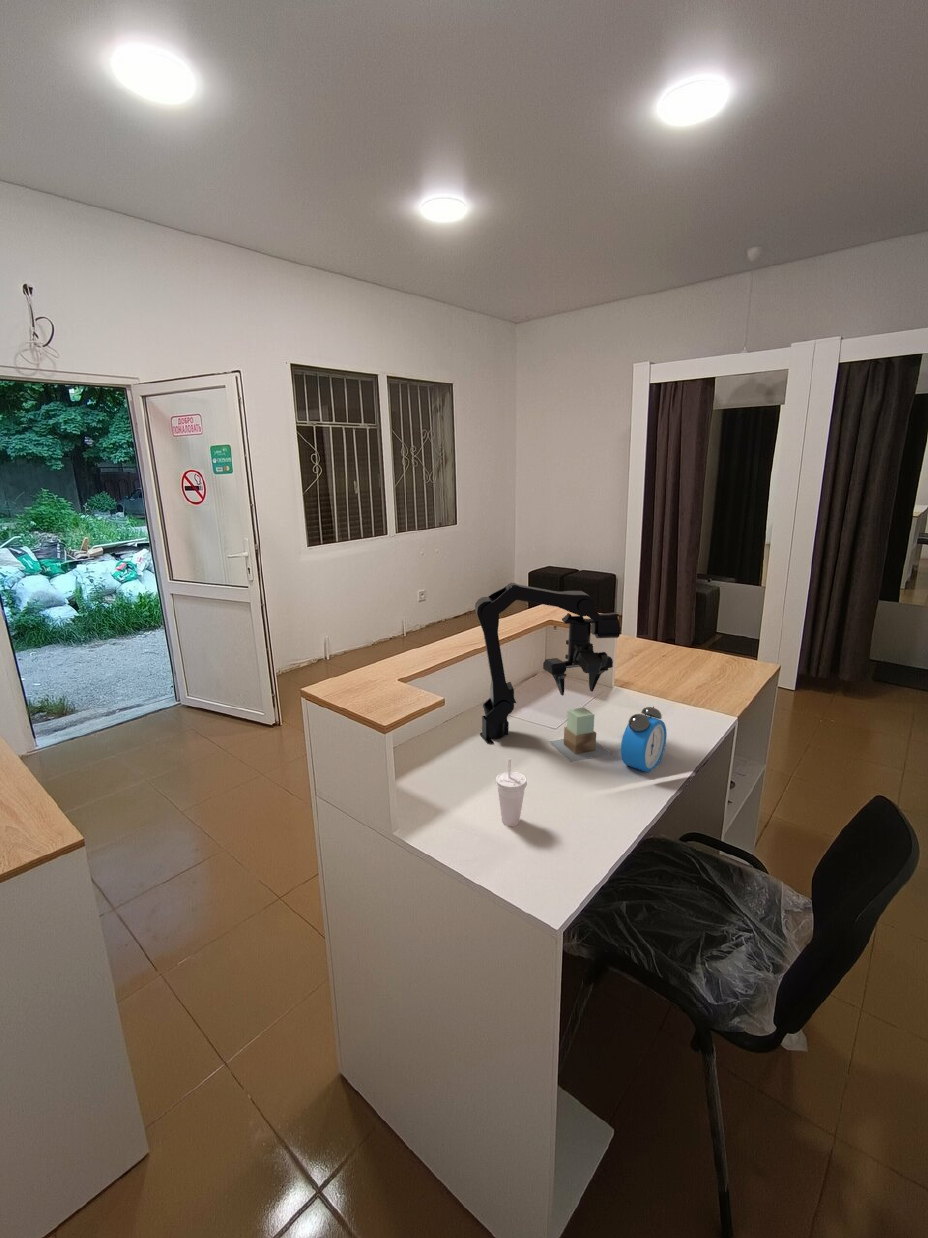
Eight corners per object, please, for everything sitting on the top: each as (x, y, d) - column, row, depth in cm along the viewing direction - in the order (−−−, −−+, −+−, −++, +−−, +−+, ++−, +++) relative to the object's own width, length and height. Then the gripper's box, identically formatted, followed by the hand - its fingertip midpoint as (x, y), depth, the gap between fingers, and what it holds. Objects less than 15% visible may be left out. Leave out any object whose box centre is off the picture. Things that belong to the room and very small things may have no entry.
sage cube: (576, 735, 144) (577, 717, 143) (566, 727, 149) (567, 710, 148) (593, 732, 146) (594, 714, 145) (583, 725, 150) (584, 707, 149)
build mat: (570, 765, 141) (570, 761, 141) (548, 744, 152) (548, 741, 152) (611, 757, 145) (611, 754, 145) (586, 738, 156) (587, 735, 156)
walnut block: (575, 754, 145) (576, 736, 144) (563, 744, 150) (564, 727, 149) (595, 750, 147) (596, 733, 145) (583, 741, 152) (584, 724, 151)
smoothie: (506, 808, 122) (507, 749, 119) (531, 819, 118) (533, 758, 115) (489, 822, 117) (489, 760, 114) (514, 833, 113) (515, 770, 110)
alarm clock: (641, 781, 133) (646, 722, 130) (617, 773, 137) (621, 715, 134) (665, 762, 143) (669, 706, 139) (642, 754, 147) (646, 700, 143)
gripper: (563, 649, 141) (561, 708, 145) (626, 643, 147) (622, 699, 151) (543, 638, 152) (541, 693, 155) (602, 632, 158) (599, 685, 161)
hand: (576, 693), depth 155 cm, fingers open, 9 cm apart
